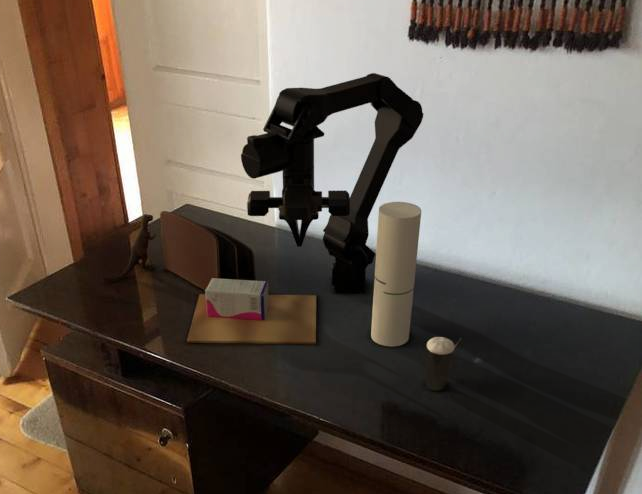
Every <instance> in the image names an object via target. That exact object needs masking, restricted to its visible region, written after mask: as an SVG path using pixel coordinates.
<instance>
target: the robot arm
mask: <svg viewBox="0 0 642 494" xmlns="http://www.w3.org/2000/svg"><path fill="white" fill-rule="evenodd" d="M368 104H370V105H371V107H372V109H374V110H375V111H376V116H375V119H374V135H375V139H374V141H373V144H372V145H371V148H370V150H369V153H368V155H367V157H366V160H365V162H364V163H363V166H362V168H361V170H360V173H359V175H358V177H357V180H356V182H355V185H354V187H353V189H352V192H351V194H350V193H349V192H348V191H347V190H328V191H327V196H323V191H321V190H315V139H318V138H319V139H320V138H322V137H325V132H324V131H323V130H321V129H320V128H319V127H318V126H319V125H321V124H323V123H324V122H325V121H326V120H327V118H329V117H330V116H331V115H333V114H337V113H341V112H343V111H347V110H351V109H354V108H357V107H360V106H364V105H368ZM423 119H424V112H423V107H422V104H421V102H419V101H418V100H415V99H413V98H412V97H411V96H410V95H408V94H407V93H406V92H405V91H404V90H402V89H401V88H400V87H399V86H397V84H396V83H395V82H394V81H393V80H392V79H391V78H390V77H389V76H386V75H383V74H379V73H376V72H371V73H369V74H367V75H365V76H362V77H358V78H354V79H351V80H347V81H343V82H340V83H339V82H338V83H336V84H332V85H328V86H324V87H321V88H311V87H287V88H284V89H282V90H281V91H280V92H279V93H278V96H277V98H276V101H275V104H274V106H273V108H272V109H271V112H270V114H269V117H268V118H267V120H266V122H265V124H264V127H263V128H262V130H263V132H265V133H262V134H258V135H257V134H254V135H253V134H252V135H248V136H247V137H246V142H247V143H246V144H244V146H243V148H242V151H241V154H240V160H241V165H242V168H243V170H244V172H245V174H246V175H247V176H248V178H250V179H253V180H254V179H259V178H263V177H266V176H269V175H272V174H277V173H280V172H282V190H281V196H271V191H270V190H251V191H250V192H249V193H248V197H247V202H246V208H247V210H246V211H247V216H249V217H265V216H266V215H267V214H269V212H270V209H278V211H279V212H278V219H279V220H282V221H284V222H285V223H287V225H288V227H289V229H290V232H291V234H292V236H293V239H294V242H295V245H296V247H297V248H300V247H302V246H303V245H304V240H305V237H306V235H307V232H308V229H309V227H310V225H311V223H312V222H313V221H316V220H319V216H320V215H319V214H320V213H319V212H323V209H328V213H329V214H330V215H329V218H328V221H327V224H326V225H325V227H324V228H323V230H322V232H324V233H323V236H322V242H323V245H324V247H325V249H326V250H327V252H328V255H329V256H331V257H334V258H335V259H334V262H332V264H331V286H332V287H333V291H334V293H336V294H338V293H339V294H340V293H343V294H345V293H347V294H348V293H349V294H354V293H356V294H365V293H366V272H367V268H368V267H369V265H371V264H373V262H374V259H375V257H376V252H374V251H373V250H372V249H371V248H370V247H369V246H368V245H367V241H368V238H369V236H370V235H369V234H370V232H369V217H370V215H371V212H372V210H373V208H374V206H375V203H376V201H377V199H378V197H379V195H380V192H381V190H382V188H383V186H384V183H385V181H386V179H387V176H388V174H389V172H390V170H391V168H392V166H393V163H394V161H395V159H396V157H397V154H398V152H399V151H400V149H401V148H402V147H403V146H404V145H406V144H407V143H409V141H411V140H412V139H413V138H414V136H415V134H416V132H417V131H418V129H419V127H420V126H421V124H422V122H423ZM282 123H283V124H286V125H288V126H291V127H292V128H289V127H287V126H284V125H282ZM298 221H300V222H301V223H300V229H299V222H298Z"/></svg>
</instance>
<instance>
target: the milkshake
mask: <svg viewBox="0 0 642 494" xmlns="http://www.w3.org/2000/svg"><path fill="white" fill-rule="evenodd" d="M461 340H462V337H460V338H459V339H458V340H457V342H456V344H455V343H454V342H453V341H452V340H451V339H449V338H447V337H445V336H434V337H432V338H430V339H429V340H427V342H426V362H425V363H426V365H425V367H426V368H425V385H426V388H427V389H429V390H430V391H436V392H439V391H442V390H444V389H445V387H446V386H447V380H448V376H449V371H450V368H451V363H452V359H453V356H454V352H455V348H456V347H457V345H458V344H459V342H460V341H461Z"/></svg>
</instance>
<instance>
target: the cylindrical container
mask: <svg viewBox="0 0 642 494" xmlns="http://www.w3.org/2000/svg"><path fill="white" fill-rule="evenodd" d="M421 217H422V209H421V207H420V206H418V205H417V204H415V203H412V202H406V201H389V202H385V203H383V204H381V205H380V206H379V207H378V217H377V218H378V219H377V233H376V248H375V249H376V250H375V266H374V280H373V297H372V311H371V312H372V313H371V314H372V315H371V328H370V329H371V330H370V337H371V340H372V341H373V342H374V343H376V344H378V345H381V346H384V347H391V348H392V347H400V346H402V345H404V344H406V343H408V341H409V339H410V330H411V321H412V320H411V319H412V310H413V309H412V308H413V299H414V298H413V297H414V288H415V280H416V271H417V259H418V248H419V239H420V230H421V229H420V228H421V219H422V218H421Z"/></svg>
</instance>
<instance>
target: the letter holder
mask: <svg viewBox="0 0 642 494" xmlns="http://www.w3.org/2000/svg"><path fill="white" fill-rule="evenodd" d="M159 218H160V231H161V232H160V233H161V245H162V255H163V256H162V257H163V267H164V269H165V270H167V271H169V272H171V273H173V274H174V275H176V276H178V277H180V278H181V279H184V280H185V281H187V282H189V283H190V284H192V285H194V286H196V287H197V288H199V289H201V290H203V291H205V290H206V289H207V287H208V285H209V283H210V281H211V279H212V278H217V279H234V280H250V281H257V276H256V261H255V252H254V251H253V249H252V248H250V246H248V245H247V244H245V243H244V242H242V241H241V240H239V239H237V238H235V237H233V236H232V235H231V234H228V233H226V232H223V230H220V229H217V228H215V227H212V226H210V225H205V224H201V223H198V222H196V221H195V220H192V219H191V218H188V217H186V216H183V215H181V214H178V213H175V212H171V211H167V210H162V211H160V214H159Z"/></svg>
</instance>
